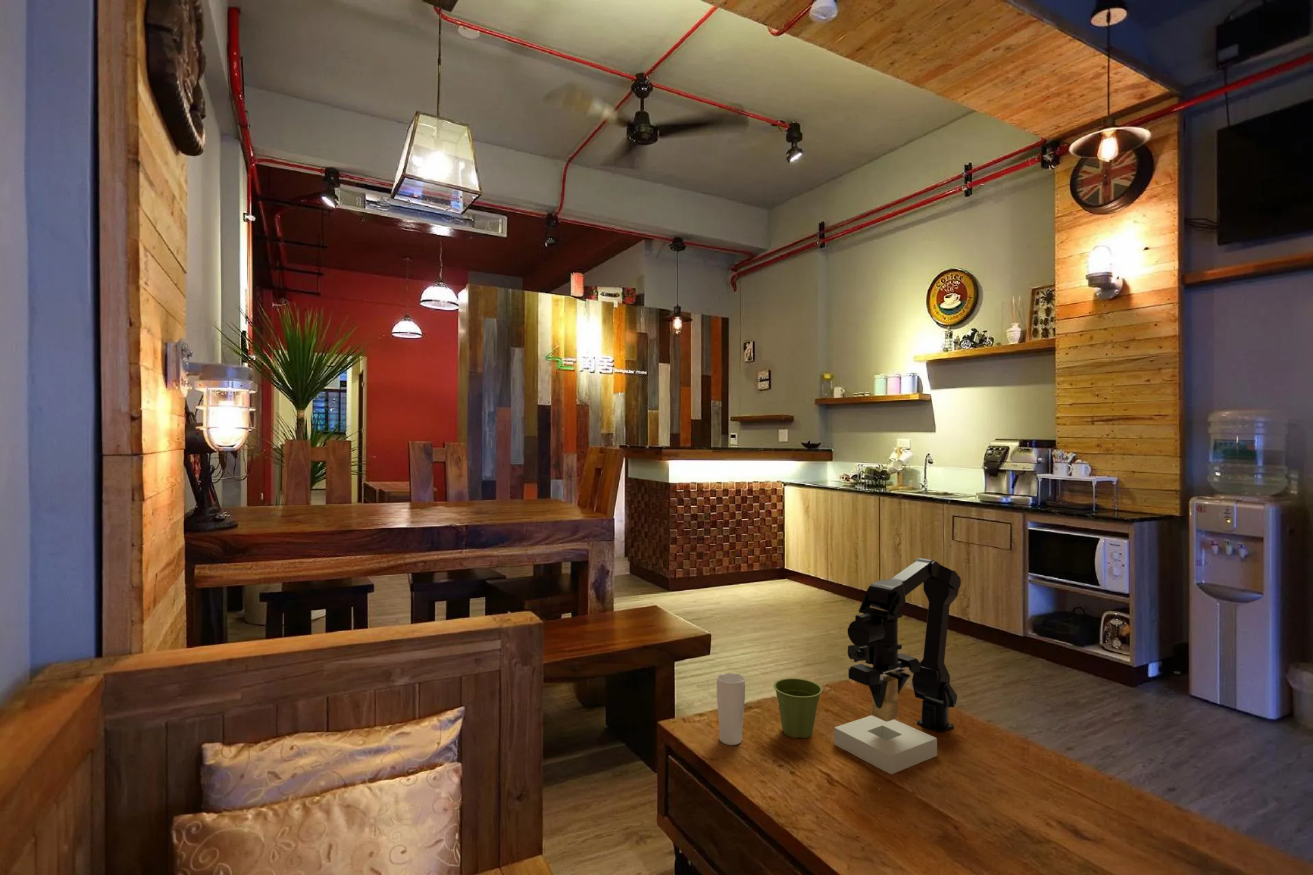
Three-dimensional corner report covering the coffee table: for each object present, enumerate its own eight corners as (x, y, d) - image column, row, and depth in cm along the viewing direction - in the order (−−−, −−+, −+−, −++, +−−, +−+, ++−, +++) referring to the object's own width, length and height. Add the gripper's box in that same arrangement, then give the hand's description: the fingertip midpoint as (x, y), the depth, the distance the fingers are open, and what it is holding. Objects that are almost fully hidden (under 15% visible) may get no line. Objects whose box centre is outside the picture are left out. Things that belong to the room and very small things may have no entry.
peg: (883, 711, 149) (883, 673, 149) (897, 717, 146) (897, 678, 146) (872, 715, 147) (872, 676, 147) (886, 721, 144) (886, 682, 144)
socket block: (879, 728, 157) (879, 712, 157) (936, 755, 144) (936, 738, 144) (834, 744, 149) (834, 727, 149) (890, 774, 135) (890, 755, 135)
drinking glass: (744, 735, 153) (744, 673, 154) (745, 748, 147) (745, 683, 147) (716, 733, 154) (716, 672, 154) (716, 746, 147) (716, 682, 148)
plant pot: (768, 738, 152) (768, 691, 152) (778, 718, 163) (778, 675, 163) (818, 747, 147) (818, 699, 147) (825, 727, 158) (825, 682, 158)
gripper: (882, 624, 158) (882, 686, 158) (830, 635, 149) (830, 702, 148) (921, 635, 149) (921, 701, 149) (868, 648, 139) (868, 719, 139)
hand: (884, 705), depth 146 cm, fingers closed on peg, 4 cm apart
